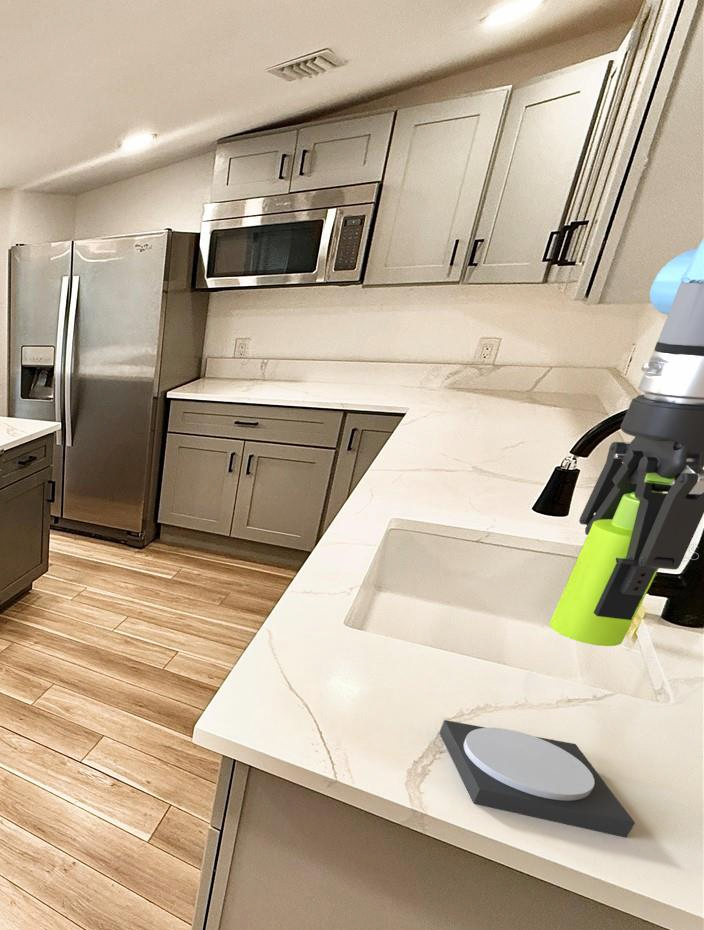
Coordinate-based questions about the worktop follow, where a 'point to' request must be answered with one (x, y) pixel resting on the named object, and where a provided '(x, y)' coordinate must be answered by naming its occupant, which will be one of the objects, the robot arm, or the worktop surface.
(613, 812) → the scale
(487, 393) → the worktop surface
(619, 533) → the soap dispenser
